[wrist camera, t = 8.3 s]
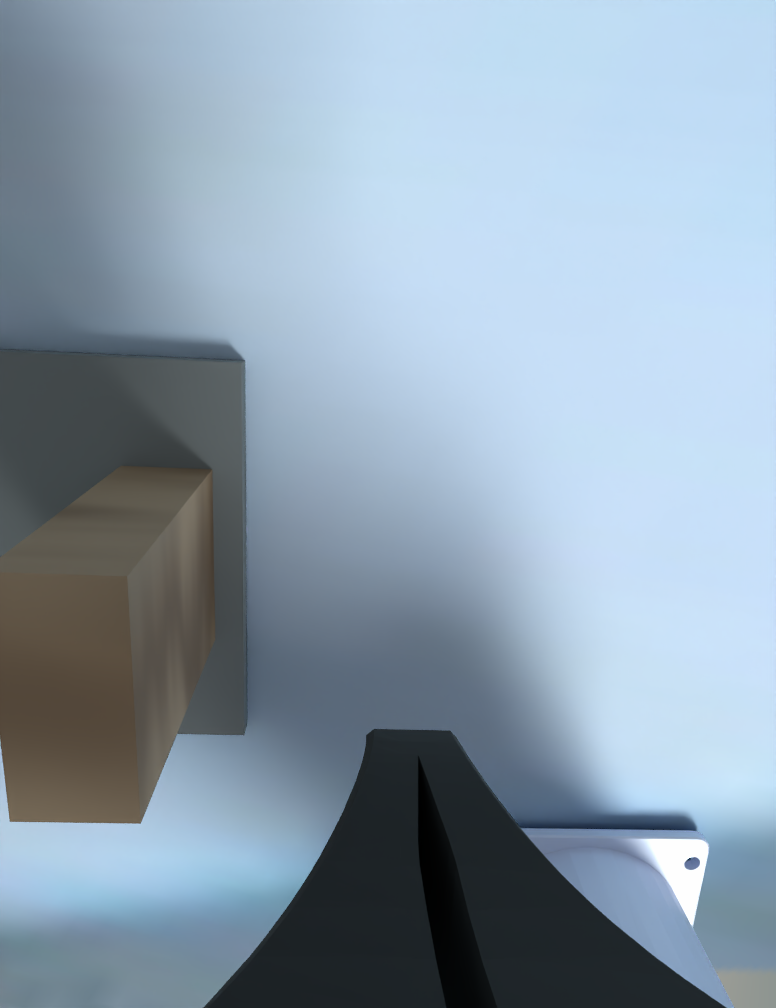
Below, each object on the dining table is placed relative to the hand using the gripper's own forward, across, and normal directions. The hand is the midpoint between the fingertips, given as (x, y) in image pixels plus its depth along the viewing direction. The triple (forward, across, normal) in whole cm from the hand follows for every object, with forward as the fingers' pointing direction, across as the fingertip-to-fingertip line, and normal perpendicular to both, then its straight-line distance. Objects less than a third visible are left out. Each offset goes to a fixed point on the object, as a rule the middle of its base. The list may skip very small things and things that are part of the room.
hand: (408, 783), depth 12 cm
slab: (+9, +6, 0) cm, 11 cm away
